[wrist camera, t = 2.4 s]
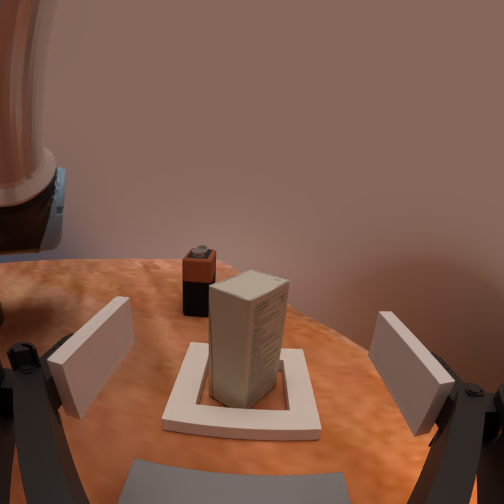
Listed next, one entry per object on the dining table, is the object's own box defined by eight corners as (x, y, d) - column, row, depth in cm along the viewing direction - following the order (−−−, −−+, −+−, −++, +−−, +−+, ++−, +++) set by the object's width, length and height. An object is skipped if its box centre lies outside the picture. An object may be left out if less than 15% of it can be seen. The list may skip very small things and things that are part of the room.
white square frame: (163, 429, 21) (161, 418, 21) (191, 352, 34) (191, 341, 34) (318, 439, 21) (321, 428, 21) (300, 359, 34) (302, 349, 34)
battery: (182, 315, 44) (181, 252, 42) (190, 298, 51) (190, 242, 48) (210, 318, 44) (211, 254, 42) (215, 300, 51) (216, 244, 48)
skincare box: (244, 370, 32) (251, 268, 29) (278, 385, 29) (292, 279, 26) (206, 396, 27) (205, 283, 24) (242, 417, 24) (250, 298, 21)
